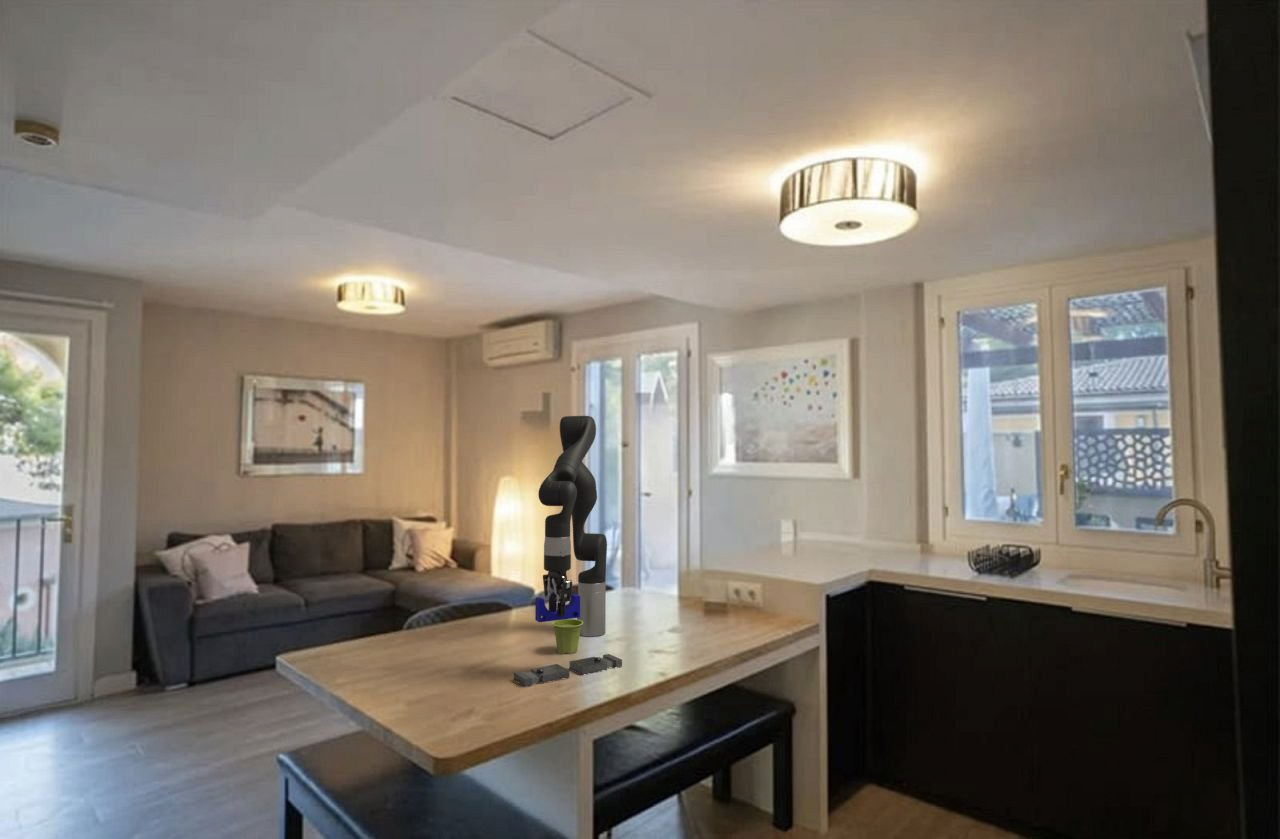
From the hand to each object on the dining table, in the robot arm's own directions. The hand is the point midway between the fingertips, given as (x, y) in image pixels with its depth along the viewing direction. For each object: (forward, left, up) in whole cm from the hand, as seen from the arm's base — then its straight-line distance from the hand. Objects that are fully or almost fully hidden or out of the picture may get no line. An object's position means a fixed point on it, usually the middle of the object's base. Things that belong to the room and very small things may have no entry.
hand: (556, 614), depth 193 cm
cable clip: (0, 0, -1) cm, 1 cm away
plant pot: (-15, +12, -16) cm, 25 cm away
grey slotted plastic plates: (+4, +2, -16) cm, 16 cm away
